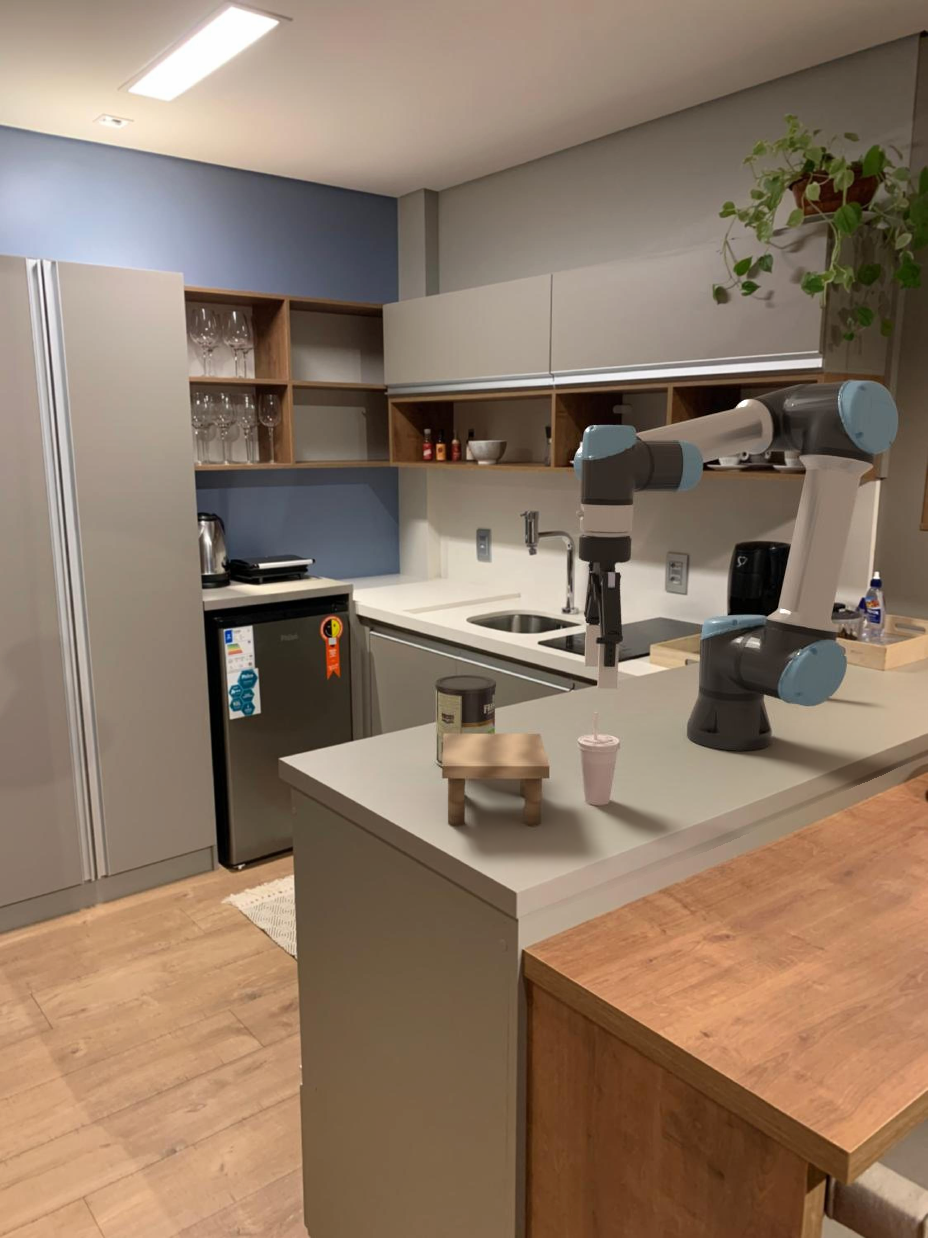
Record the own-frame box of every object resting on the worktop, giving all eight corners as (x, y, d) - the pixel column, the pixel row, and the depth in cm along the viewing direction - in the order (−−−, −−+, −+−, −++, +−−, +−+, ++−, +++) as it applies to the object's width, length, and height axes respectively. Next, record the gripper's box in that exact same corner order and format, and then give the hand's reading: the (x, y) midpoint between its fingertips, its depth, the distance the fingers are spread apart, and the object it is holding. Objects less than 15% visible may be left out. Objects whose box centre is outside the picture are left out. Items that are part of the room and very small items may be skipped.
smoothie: (572, 793, 146) (574, 706, 143) (612, 792, 146) (615, 706, 144) (580, 809, 139) (583, 718, 137) (622, 808, 140) (626, 718, 137)
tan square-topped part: (538, 790, 147) (540, 733, 146) (548, 828, 132) (549, 766, 131) (443, 789, 147) (443, 733, 145) (442, 828, 132) (442, 766, 131)
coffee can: (499, 754, 164) (500, 676, 162) (489, 773, 154) (490, 691, 152) (442, 750, 166) (442, 673, 164) (428, 769, 156) (428, 687, 154)
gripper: (569, 526, 148) (565, 657, 151) (591, 541, 123) (586, 698, 127) (616, 526, 148) (611, 658, 152) (648, 542, 123) (641, 698, 127)
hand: (599, 676), depth 139 cm, fingers open, 13 cm apart
